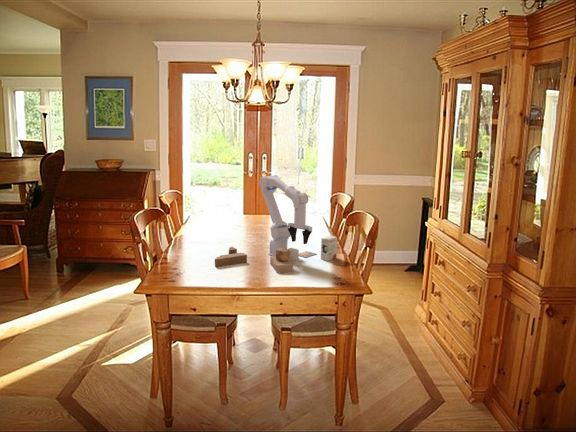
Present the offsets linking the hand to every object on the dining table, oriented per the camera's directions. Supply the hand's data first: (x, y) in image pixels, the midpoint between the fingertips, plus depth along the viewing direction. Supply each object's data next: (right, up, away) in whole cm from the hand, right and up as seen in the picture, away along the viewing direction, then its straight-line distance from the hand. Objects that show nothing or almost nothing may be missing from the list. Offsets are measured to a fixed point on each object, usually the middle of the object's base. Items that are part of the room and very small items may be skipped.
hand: (299, 242), depth 255 cm
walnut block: (-9, -8, -8) cm, 14 cm away
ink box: (+16, -9, +10) cm, 21 cm away
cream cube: (-4, -9, +8) cm, 13 cm away
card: (+4, -8, +15) cm, 18 cm away
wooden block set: (-38, -10, +1) cm, 40 cm away
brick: (-9, -13, -8) cm, 18 cm away
